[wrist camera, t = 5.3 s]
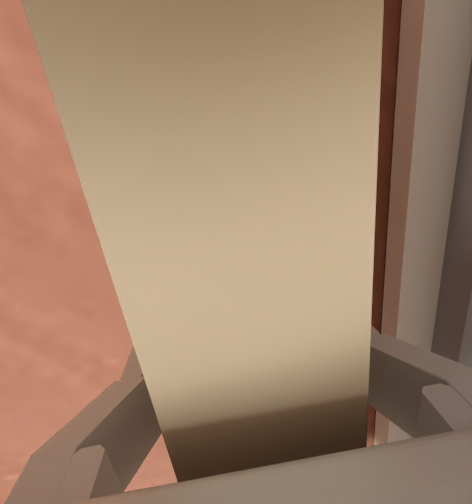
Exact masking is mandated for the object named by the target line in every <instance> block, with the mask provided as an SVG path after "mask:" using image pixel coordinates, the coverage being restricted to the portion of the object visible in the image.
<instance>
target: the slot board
mask: <svg viewBox="0 0 472 504" xmlns="http://www.w3.org/2000/svg"><path fill="white" fill-rule="evenodd" d="M385 334H387V335H389V336H392V337H394V338H397V339H400V340H402V341H405V342H407V343H410V344H412V345H415V346H417V347H420V348H422V349H425V350H427V351H430V352H432V353H435V354H437V355H440V356H443V357H445V358H448V359H450V360H453V361H455V362H458V363H460V364H463V365H465V366H468V367H470V368H472V0H402V9H401V25H400V41H399V57H398V73H397V89H396V105H395V121H394V136H393V152H392V168H391V184H390V200H389V216H388V232H387V248H386V264H385V280H384V296H383V311H382V327H381V335H385ZM412 438H413V437H411V436H410V435H409V434H407V433H406V432H405V431H403V430H402V429H401V428H399V427H398V426H397V425H395V424H394V423H392V422H391V421H390V420H388V419H387V418H386V417H384V416H383V415H382V414H380V413H379V412H378V411H376V423H375V439H374V446H375V445H380V444H385V443H391V442H396V441H401V440H407V439H412Z"/></svg>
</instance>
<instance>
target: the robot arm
mask: <svg viewBox="0 0 472 504" xmlns="http://www.w3.org/2000/svg"><path fill="white" fill-rule="evenodd" d="M368 405H370V406H371V407H372V408H374V409H375V410H376V411H378V412H379V413H380V414H382V415H383V416H384V417H386V418H387V419H388V420H390V421H391V422H392V423H394V424H395V425H397V426H398V427H399V428H401V429H402V430H403V431H405V432H406V433H407V434H409V435H410V436H411V437H413V438H412V439H407V440H401V441H396V442H391V443H385V444H380V445H375V446H369V447H364V448H358V449H353V450H348V451H342V452H337V453H332V454H326V455H321V456H316V457H310V458H305V459H300V460H294V461H289V462H284V463H278V464H273V465H268V466H262V467H257V468H251V469H246V470H241V471H235V472H230V473H225V474H219V475H214V476H209V477H203V478H198V479H193V480H187V481H182V482H177V483H171V484H166V485H161V486H155V487H150V488H145V489H139V490H134V491H129V492H124V490H125V489H126V487H127V486H128V484H129V483H130V481H131V480H132V478H133V476H134V475H135V473H136V472H137V470H138V469H139V467H140V466H141V464H142V463H143V461H144V459H145V458H146V456H147V455H148V453H149V452H150V450H151V449H152V447H153V446H154V444H155V442H156V441H157V439H158V438H159V436H160V435H161V433H162V432H161V428H160V425H159V422H158V419H157V416H156V413H155V410H154V407H153V404H152V401H151V398H150V395H149V392H148V388H147V385H146V382H145V379H144V376H143V373H142V370H141V367H140V364H139V361H138V358H137V355H136V352H135V349H134V345H133V347H132V350H131V353H130V355H129V358H128V361H127V363H126V366H125V369H124V372H123V374H122V377H121V380H119V381H115V382H114V383H112V384H111V385H110V386H109V387H108V388H107V389H106V390H105V391H103V392H102V393H101V394H100V395H99V396H98V397H97V398H96V399H94V400H93V401H92V402H91V403H90V404H89V405H88V406H87V407H85V408H84V409H83V410H82V411H81V412H80V413H79V414H78V415H76V416H75V417H74V418H73V419H72V420H71V421H70V422H69V423H67V424H66V425H65V426H64V427H63V428H62V429H61V430H60V431H58V432H57V433H56V434H55V435H54V436H53V437H52V438H50V439H49V440H48V441H47V442H46V443H45V444H44V445H43V446H41V447H40V448H39V449H38V450H37V451H36V452H35V453H34V454H32V455H31V457H30V459H29V461H28V462H27V464H26V466H25V468H24V470H23V471H22V473H21V475H20V477H19V478H18V480H17V482H16V484H15V486H14V487H13V489H12V491H11V493H10V494H9V496H8V498H7V500H6V501H5V503H4V504H472V368H470V367H468V366H465V365H463V364H460V363H458V362H455V361H453V360H450V359H448V358H445V357H443V356H440V355H437V354H435V353H432V352H430V351H427V350H425V349H422V348H420V347H417V346H415V345H412V344H410V343H407V342H405V341H402V340H400V339H397V338H394V337H392V336H389V335H387V334H385V335H381V334H380V333H379V332H378V331H377V330H376V329H375V328H374V327H373V326H372V325H371V340H370V365H369V391H368Z"/></svg>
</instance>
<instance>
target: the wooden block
mask: <svg viewBox="0 0 472 504" xmlns="http://www.w3.org/2000/svg"><path fill="white" fill-rule="evenodd" d="M21 1H22V4H23V7H24V10H25V13H26V16H27V19H28V23H29V26H30V29H31V32H32V35H33V38H34V41H35V44H36V47H37V50H38V53H39V56H40V59H41V62H42V66H43V69H44V72H45V75H46V78H47V81H48V84H49V87H50V90H51V93H52V96H53V99H54V102H55V106H56V109H57V112H58V115H59V118H60V121H61V124H62V127H63V130H64V133H65V136H66V139H67V142H68V146H69V149H70V152H71V155H72V158H73V161H74V164H75V167H76V170H77V173H78V176H79V179H80V182H81V186H82V189H83V192H84V195H85V198H86V201H87V204H88V207H89V210H90V213H91V216H92V219H93V222H94V225H95V229H96V232H97V235H98V238H99V241H100V244H101V247H102V250H103V253H104V256H105V259H106V262H107V265H108V269H109V272H110V275H111V278H112V281H113V284H114V287H115V290H116V293H117V296H118V299H119V302H120V305H121V309H122V312H123V315H124V318H125V321H126V324H127V327H128V330H129V333H130V336H131V339H132V342H133V345H134V349H135V352H136V355H137V358H138V361H139V364H140V367H141V370H142V373H143V376H144V379H145V382H146V385H147V388H148V392H149V395H150V398H151V401H152V404H153V407H154V410H155V413H156V416H157V419H158V422H159V425H160V428H161V432H162V435H163V438H164V441H165V444H166V447H167V450H168V453H169V456H170V459H171V462H172V465H173V468H174V472H175V475H176V478H177V481H178V482H182V481H187V480H193V479H198V478H203V477H209V476H214V475H219V474H225V473H230V472H235V471H241V470H246V469H251V468H257V467H262V466H268V465H273V464H278V463H284V462H289V461H294V460H300V459H305V458H310V457H316V456H321V455H326V454H332V453H337V452H342V451H348V450H353V449H358V448H364V447H366V441H367V416H368V391H369V365H370V340H371V315H372V289H373V264H374V239H375V214H376V188H377V163H378V138H379V112H380V87H381V62H382V36H383V11H384V0H21Z"/></svg>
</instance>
